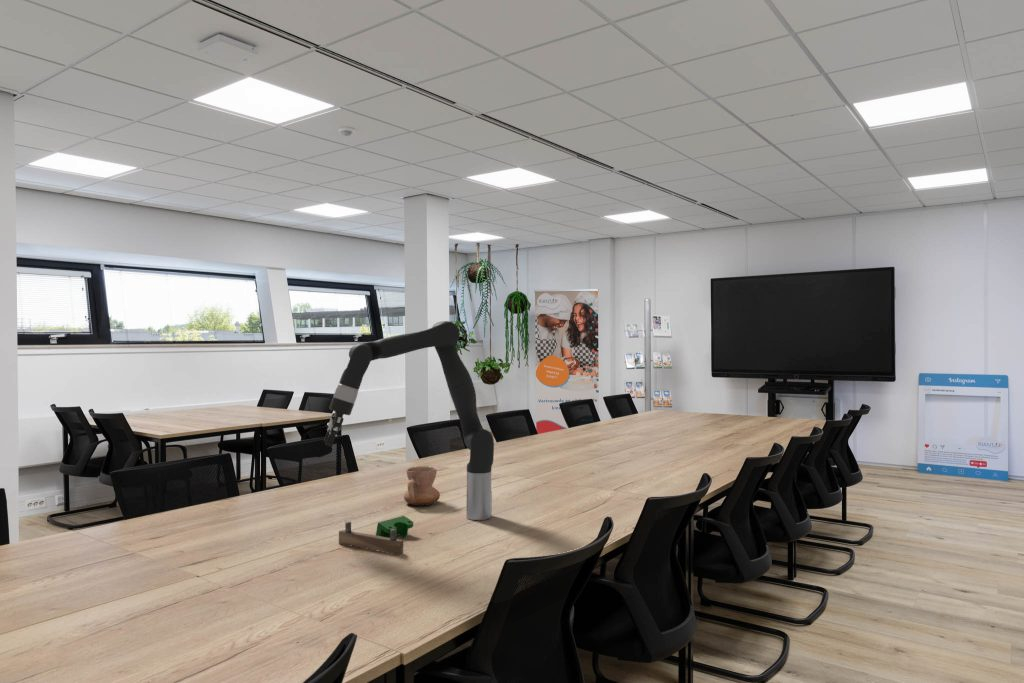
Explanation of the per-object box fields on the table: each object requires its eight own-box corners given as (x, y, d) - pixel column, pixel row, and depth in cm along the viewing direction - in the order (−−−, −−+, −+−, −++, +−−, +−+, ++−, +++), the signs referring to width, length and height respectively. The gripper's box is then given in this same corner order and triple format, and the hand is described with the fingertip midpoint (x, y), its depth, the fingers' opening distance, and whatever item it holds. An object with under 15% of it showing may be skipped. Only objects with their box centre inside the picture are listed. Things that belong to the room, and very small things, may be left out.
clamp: (389, 554, 211) (385, 533, 207) (378, 546, 215) (373, 525, 211) (417, 533, 219) (413, 512, 215) (405, 526, 223) (401, 505, 219)
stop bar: (343, 542, 210) (343, 520, 210) (403, 553, 199) (403, 530, 199) (338, 543, 208) (338, 522, 208) (399, 555, 197) (399, 532, 197)
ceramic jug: (419, 497, 272) (418, 463, 272) (448, 500, 266) (447, 466, 266) (393, 507, 256) (392, 471, 256) (423, 511, 250) (423, 474, 250)
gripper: (357, 403, 216) (340, 450, 213) (352, 401, 229) (336, 445, 227) (335, 396, 213) (318, 444, 211) (331, 394, 227) (315, 439, 224)
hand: (327, 444), depth 219 cm, fingers open, 8 cm apart
